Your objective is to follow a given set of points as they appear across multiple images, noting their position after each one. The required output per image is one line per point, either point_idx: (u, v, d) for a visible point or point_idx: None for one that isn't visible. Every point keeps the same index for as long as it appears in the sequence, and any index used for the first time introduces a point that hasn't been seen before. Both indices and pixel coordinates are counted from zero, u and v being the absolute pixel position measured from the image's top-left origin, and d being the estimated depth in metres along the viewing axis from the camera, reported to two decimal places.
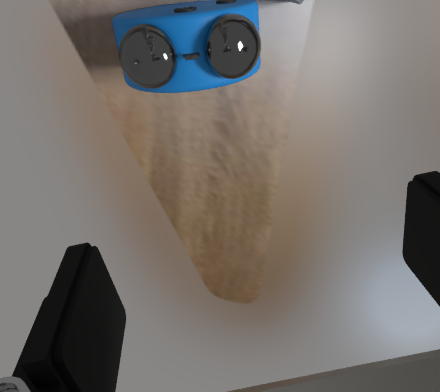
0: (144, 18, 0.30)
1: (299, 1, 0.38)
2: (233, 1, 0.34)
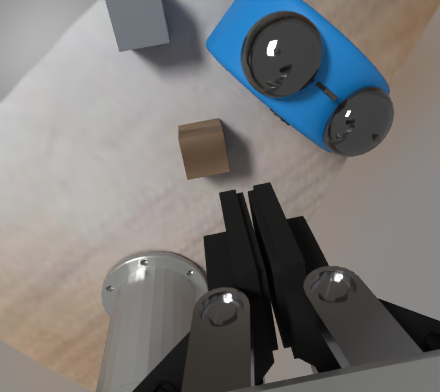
0: (321, 147, 0.27)
1: None
2: None
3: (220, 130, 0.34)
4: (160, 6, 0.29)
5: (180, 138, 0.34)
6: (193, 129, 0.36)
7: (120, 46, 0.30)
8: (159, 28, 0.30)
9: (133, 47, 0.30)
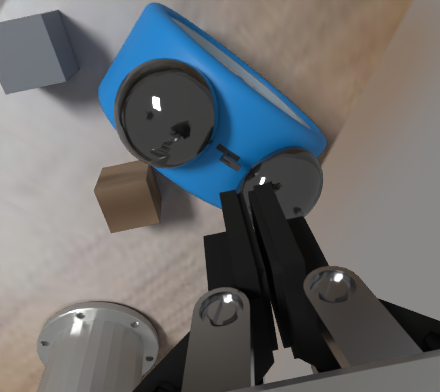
0: None
1: (40, 19, 0.23)
2: None
3: (143, 177, 0.29)
4: (47, 39, 0.24)
5: (96, 188, 0.29)
6: (116, 174, 0.31)
7: (6, 88, 0.25)
8: (50, 65, 0.24)
9: (22, 88, 0.25)
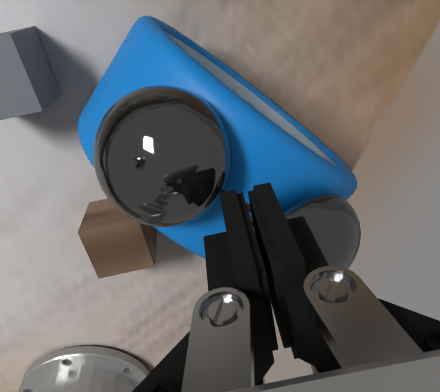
0: None
1: (9, 39, 0.19)
2: None
3: None
4: (19, 63, 0.20)
5: (81, 229, 0.25)
6: (104, 211, 0.27)
7: None
8: (23, 92, 0.21)
9: None
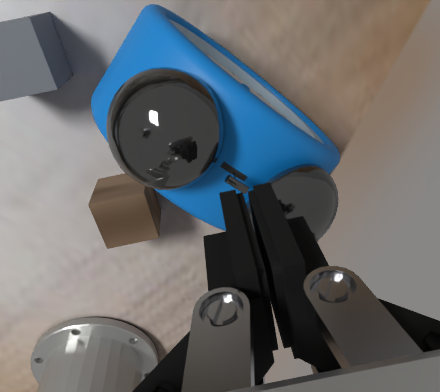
0: None
1: (28, 23, 0.21)
2: None
3: (141, 190, 0.27)
4: (37, 44, 0.22)
5: (91, 202, 0.27)
6: (112, 186, 0.29)
7: None
8: (40, 72, 0.23)
9: (10, 96, 0.23)
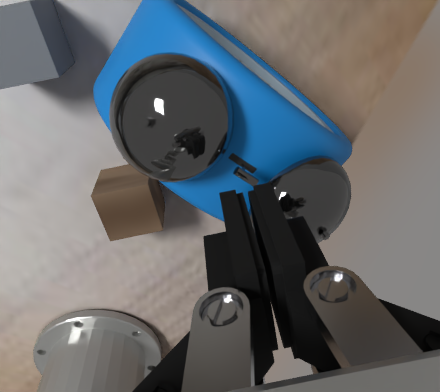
0: None
1: (29, 7, 0.20)
2: None
3: (145, 181, 0.27)
4: (38, 30, 0.21)
5: (94, 193, 0.27)
6: (115, 177, 0.28)
7: None
8: (41, 59, 0.22)
9: (10, 84, 0.22)
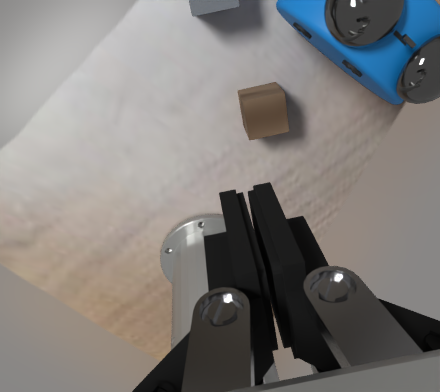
0: (390, 96, 0.29)
1: None
2: (299, 26, 0.30)
3: (281, 91, 0.37)
4: None
5: (244, 100, 0.36)
6: (254, 92, 0.38)
7: (193, 11, 0.32)
8: None
9: (205, 11, 0.32)
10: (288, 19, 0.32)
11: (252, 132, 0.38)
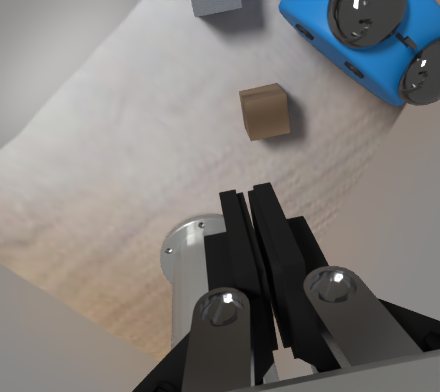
0: (392, 98, 0.29)
1: None
2: (301, 28, 0.30)
3: (283, 92, 0.37)
4: None
5: (245, 101, 0.37)
6: (255, 93, 0.38)
7: (196, 11, 0.32)
8: None
9: (208, 12, 0.32)
10: (290, 20, 0.32)
11: (253, 133, 0.38)
